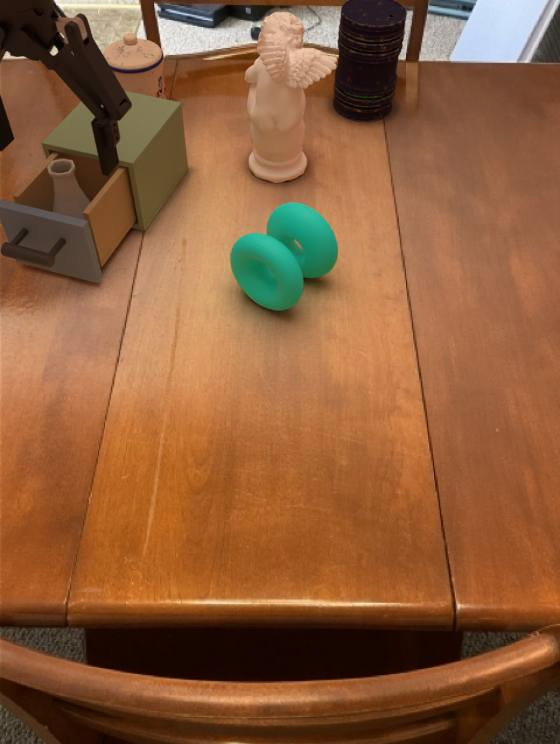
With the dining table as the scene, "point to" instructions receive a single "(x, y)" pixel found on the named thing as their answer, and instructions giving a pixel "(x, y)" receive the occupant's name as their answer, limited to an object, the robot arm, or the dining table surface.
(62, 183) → the flask
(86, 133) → the cabinet
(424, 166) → the dining table surface
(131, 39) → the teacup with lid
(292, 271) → the green rounded spool
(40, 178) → the drawer
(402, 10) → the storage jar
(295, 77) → the cherub figurine
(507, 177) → the dining table surface
